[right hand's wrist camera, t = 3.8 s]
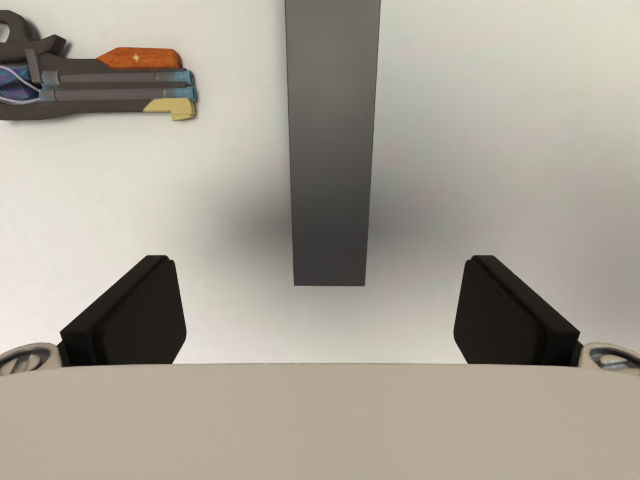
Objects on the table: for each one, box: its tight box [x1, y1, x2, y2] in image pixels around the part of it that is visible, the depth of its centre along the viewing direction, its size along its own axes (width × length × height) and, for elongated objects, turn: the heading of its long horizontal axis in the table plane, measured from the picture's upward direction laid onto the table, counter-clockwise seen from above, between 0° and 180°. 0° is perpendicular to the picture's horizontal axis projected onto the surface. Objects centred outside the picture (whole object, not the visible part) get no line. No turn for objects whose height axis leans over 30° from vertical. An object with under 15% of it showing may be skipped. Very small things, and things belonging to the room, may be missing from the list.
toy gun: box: [0, 10, 197, 121], centre depth 22 cm, size 3×19×10 cm
